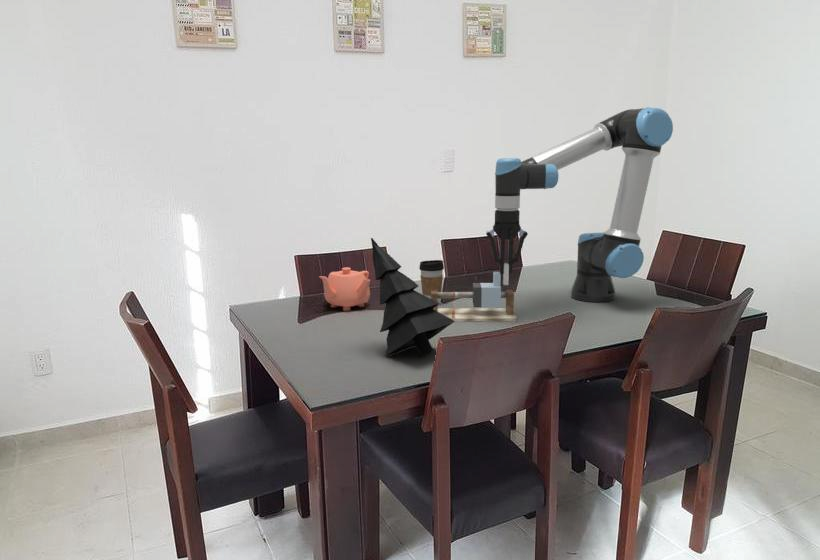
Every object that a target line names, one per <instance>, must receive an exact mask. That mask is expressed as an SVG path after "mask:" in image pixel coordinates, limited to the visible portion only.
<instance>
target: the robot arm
mask: <svg viewBox="0 0 820 560" xmlns="http://www.w3.org/2000/svg"><path fill="white" fill-rule="evenodd" d="M673 126H674V123H673V120H672V118H671V117H670V115H669V113H668V112H667V111H666V110H664V109H663V108H659V107H649V106H648V107H643V108H636V109H635V108H633V109H632V108H631V109H625V110H623V111H621V112H618V113H616V114H614V115H613V116H610V117H608V118H607V119H604V120H602V121H600V122H598V123H596V124H595V125H594V127H593V128H592V129H590V130H588V131H585V132H584V133H581V134H579V135H577V136H575V137H572V138H570V139H569V140H566V141H563V142H561V143H559V144H557V145H556V146H553V147H551V148H549V149H547V150H544V151H541V152H539V153H537V154H535V155H534V156H531V157H529V158H526V159H524V160H521V159H520V158H517V157H513V158H499V159H497V160H496V161H495V163H496V164H495V172H494V175H495V176H494V177H495V185H494V186H495V197H494V199H495V200H494V208H495V209H496V210H494V224H493V226H492V229H490V230H488V231H486V232H485V234H486V236H487V238H488V239H489V243H490V249H491V252H492V256H493V261H494V262H495V263H498V264H499V272H500V274H501V275H502V284H503V286H509V275H512V274H513V265H514V263H518V262H519V260H520V256H521V253H522V250H523V249H522V248H523V245H524V241H525V239H526V238H527V236H528V234H529V233H528V232H527V231H526V230H523V229H522V227H521V224H520V210H519V208H520V205H521V204H520V203H521V190H542V189H543V190H547V189H554V188H555V187H556V186H557V184H558V182H559V170H562V169H563V168H566V167H568V166H570V165H572V164H574V163H577V162H578V161H580V160H582V159H585V158H587V157H590V156H591V155H594V154H596V153H598V152H601V151H606V152H607V151H610V150H611V149H615V148H618V147H621V150H622V152H623V153H624V154H625V155H624V156H625V157H624V161H623V165H622V171H621V175H620V180H619V185H618V189H617V194H616V199H615V203H614V208H613V212H612V215H611V216H612V217H611V221H610V226H609V228H608V229H607V230H606V231H603V232H587V233H581V234H580V235H579V236H578V239H577V240H578V241H577V265H576V276H575V278H574V282H573V285H572V287H571V290H570V297H571V298H573V299H574V300H578V301H582V302H589V303H590V302H591V303H604V302H606V303H607V302H610V301H614V300H615V299H616V289H615V285H614V282H613V278H620V279H626V278H627V279H628V278H630V277H632V276H634V275H635V274H637V273H638V272H639V271H640V269H641V268H642V265H643V263H644V257H645V256H644V252H643V250H642V248H641V247H640V244H641V237H640V236H639V234H638V231H639V226H640V221H641V216H642V212H643V207H644V203H645V198H646V195H647V191H648V186H649V185H648V184H649V181H650V176H651V172H652V167H653V163H654V160H655V158H657V156H659V155H661V150H662V146H664V145H665V144H666V143H667V142H668V141H669V140H670V139H671V138H672V135H673V132H674V127H673ZM520 209H521V208H520ZM495 234H496V236H497V237H498V239H499V256H498V252H497V248H496V243H495V240H494V239H495V238H494V237H495ZM517 236H519V238H518V242H517V244H516V249H515V253H514V252H513V251H514V239H515V238H516V237H517ZM506 240H507V241H508V242H507V247H508V248H507V262H505V247H506V246H505V245H506ZM612 277H613V278H612Z"/></svg>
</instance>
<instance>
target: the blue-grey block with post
mask: <svg viewBox="0 0 820 560" xmlns="http://www.w3.org/2000/svg"><path fill="white" fill-rule="evenodd" d="M492 275H493V277H492V282H479V283H480V284H481V287H482V298H481V307H480V308H502V307H501V305H502V304H501V303H502V298H501V292H502V286H501V281H502V279H501V277H502V276H501V275H502V274H500V271H493V274H492Z"/></svg>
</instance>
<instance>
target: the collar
mask: <svg viewBox="0 0 820 560" xmlns="http://www.w3.org/2000/svg"><path fill="white" fill-rule="evenodd" d="M480 283H481V282H473V283H472V292H474V298H472V307H473V308H482V307H481V298H482V287H481V284H480Z"/></svg>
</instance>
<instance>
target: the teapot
mask: <svg viewBox="0 0 820 560" xmlns="http://www.w3.org/2000/svg"><path fill="white" fill-rule="evenodd" d="M369 277H370V272H369V271H368V270H362V271H357V270H352V269H351V267H348V266H347V267H342V268H341V270H338V271H331V272H330V273H329V274H328V277H327V276H322V275H320V276H319V278H320V279H321V280H322V282H323V290H324V296H323V297H324V298H325V300H326V301H327V303H329V304H330V307H329V308H334V309H335V308H338V307H342V311H344V312H350V311H351V310H352V309H351V307H355V306H357V307H358V308H362V307H366V305H365V304H366V303H368V302H369V300H370V297H371V291H370V283H371V279H369Z"/></svg>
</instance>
